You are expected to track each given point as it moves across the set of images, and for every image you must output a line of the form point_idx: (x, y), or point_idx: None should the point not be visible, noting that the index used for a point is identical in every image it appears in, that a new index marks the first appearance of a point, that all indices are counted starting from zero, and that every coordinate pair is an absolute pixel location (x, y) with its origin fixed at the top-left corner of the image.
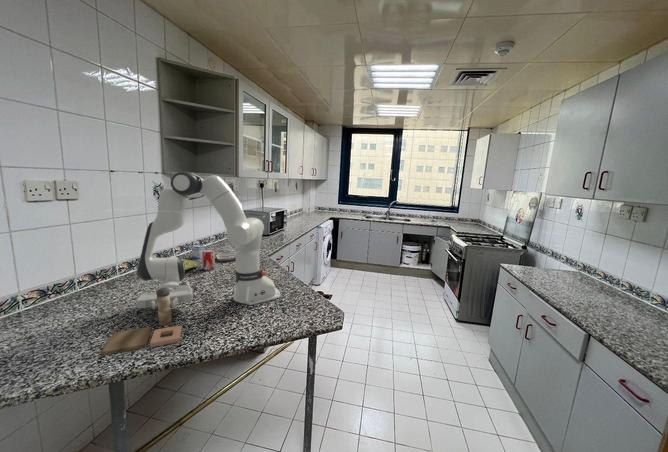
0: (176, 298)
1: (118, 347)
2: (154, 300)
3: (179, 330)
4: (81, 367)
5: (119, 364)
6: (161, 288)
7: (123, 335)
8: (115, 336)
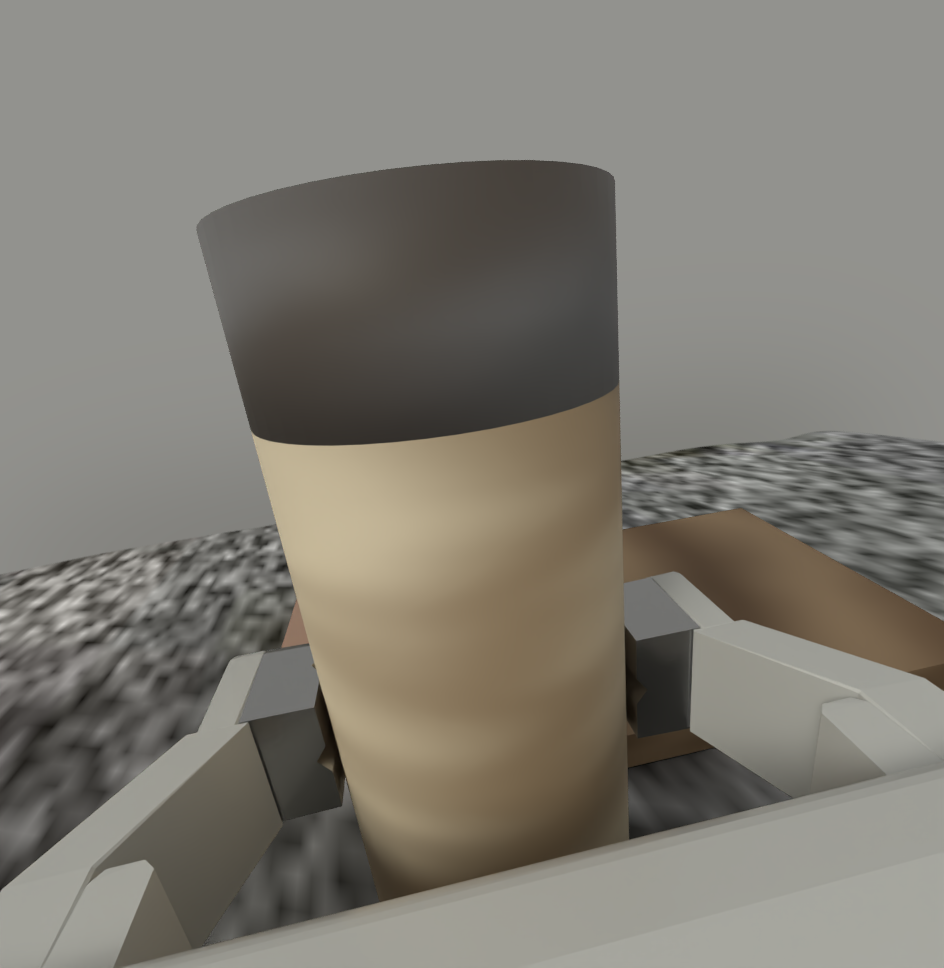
0: (61, 876)
1: (675, 530)
2: (924, 763)
3: (294, 640)
4: (747, 488)
5: None
6: (507, 167)
7: (801, 616)
8: (867, 605)
